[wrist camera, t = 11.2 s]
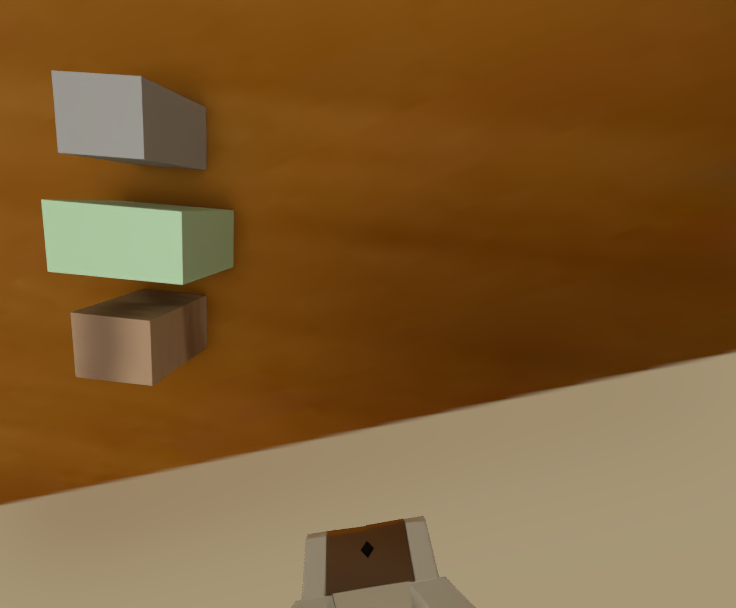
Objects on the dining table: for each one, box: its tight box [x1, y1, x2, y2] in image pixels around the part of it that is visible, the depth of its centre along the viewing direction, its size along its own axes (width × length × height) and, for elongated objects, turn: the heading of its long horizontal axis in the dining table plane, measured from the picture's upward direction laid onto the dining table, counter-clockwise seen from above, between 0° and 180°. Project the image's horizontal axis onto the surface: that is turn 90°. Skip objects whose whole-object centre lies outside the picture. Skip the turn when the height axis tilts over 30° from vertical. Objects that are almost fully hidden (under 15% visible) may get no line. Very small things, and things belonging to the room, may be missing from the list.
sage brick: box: [41, 199, 234, 285], centre depth 34 cm, size 10×5×9 cm, turn 85°
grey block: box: [52, 71, 206, 170], centre depth 32 cm, size 6×5×9 cm
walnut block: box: [71, 289, 207, 386], centre depth 36 cm, size 6×5×9 cm
